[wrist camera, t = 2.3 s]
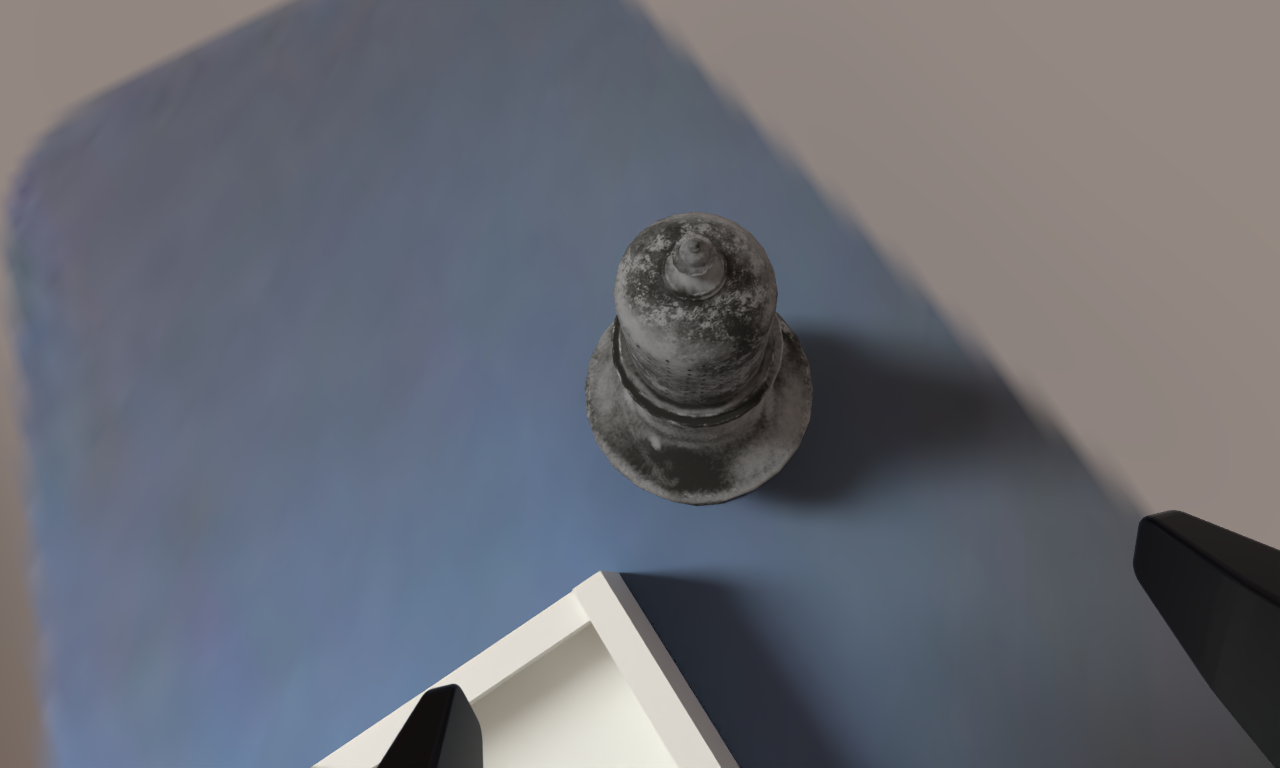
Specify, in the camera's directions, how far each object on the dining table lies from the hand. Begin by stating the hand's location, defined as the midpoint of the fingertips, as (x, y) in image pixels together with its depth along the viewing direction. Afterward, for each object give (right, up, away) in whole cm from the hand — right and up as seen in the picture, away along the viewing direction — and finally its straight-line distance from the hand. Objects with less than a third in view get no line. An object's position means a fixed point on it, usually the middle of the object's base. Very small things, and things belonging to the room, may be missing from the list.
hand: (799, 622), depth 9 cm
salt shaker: (0, +2, +13) cm, 13 cm away
